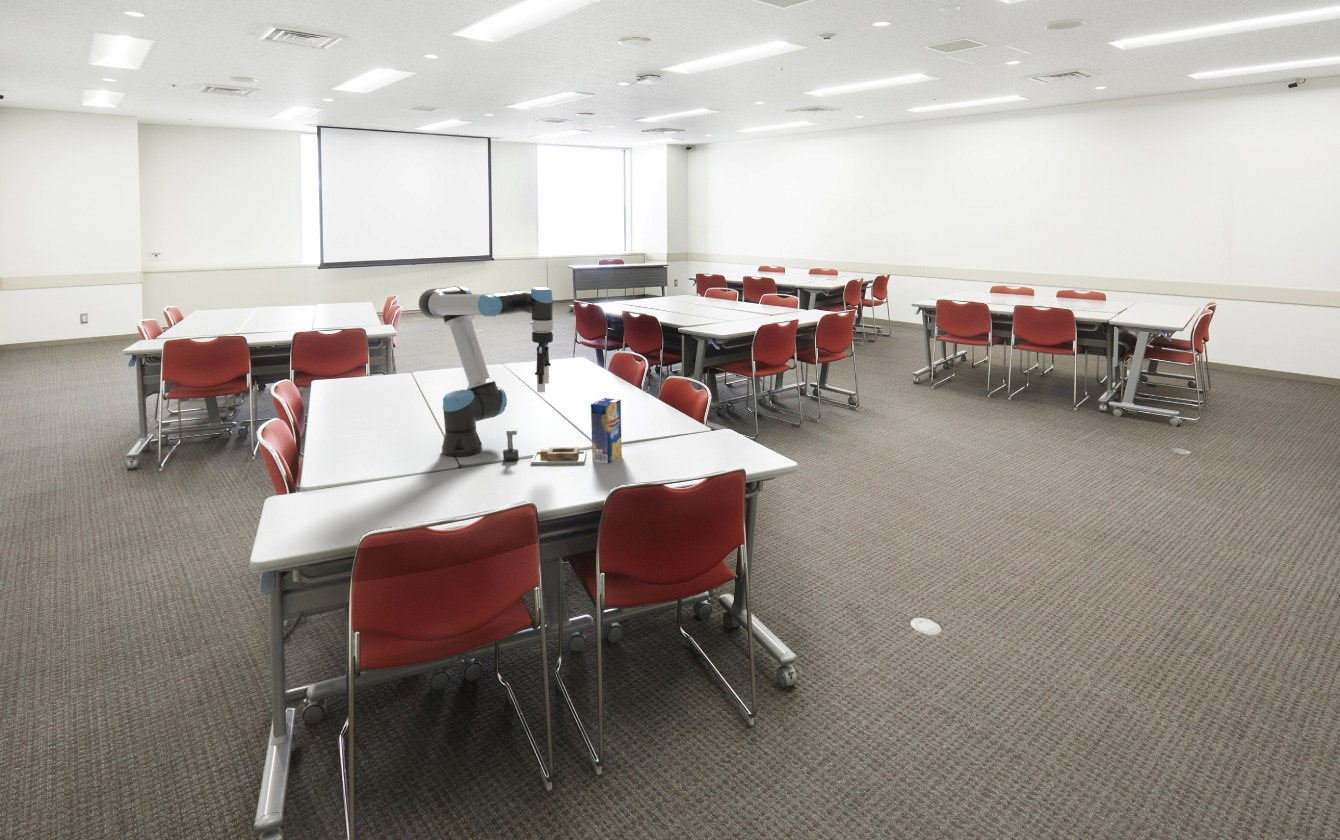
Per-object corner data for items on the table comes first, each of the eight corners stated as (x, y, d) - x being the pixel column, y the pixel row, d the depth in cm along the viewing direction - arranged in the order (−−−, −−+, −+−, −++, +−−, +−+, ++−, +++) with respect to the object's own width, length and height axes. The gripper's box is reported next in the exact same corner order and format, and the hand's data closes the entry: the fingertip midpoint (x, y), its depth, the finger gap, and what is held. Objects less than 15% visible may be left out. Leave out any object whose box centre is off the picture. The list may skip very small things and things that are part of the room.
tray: (530, 465, 275) (530, 461, 275) (535, 454, 288) (535, 451, 287) (584, 464, 276) (584, 461, 275) (586, 453, 288) (586, 450, 288)
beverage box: (621, 455, 286) (620, 399, 281) (608, 463, 277) (607, 406, 271) (605, 453, 289) (604, 398, 283) (592, 461, 279) (590, 404, 274)
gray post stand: (502, 462, 278) (500, 432, 275) (504, 457, 284) (503, 428, 281) (517, 461, 279) (515, 432, 276) (519, 457, 284) (518, 428, 281)
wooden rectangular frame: (578, 454, 285) (578, 447, 285) (577, 460, 278) (576, 453, 277) (542, 455, 285) (541, 447, 284) (539, 461, 278) (539, 453, 277)
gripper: (536, 325, 283) (537, 379, 289) (527, 336, 259) (528, 395, 265) (556, 325, 283) (556, 380, 289) (549, 337, 260) (549, 396, 266)
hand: (543, 387), depth 277 cm, fingers open, 13 cm apart
